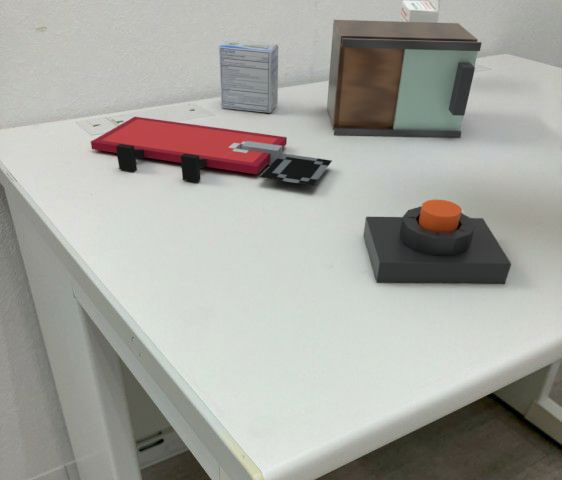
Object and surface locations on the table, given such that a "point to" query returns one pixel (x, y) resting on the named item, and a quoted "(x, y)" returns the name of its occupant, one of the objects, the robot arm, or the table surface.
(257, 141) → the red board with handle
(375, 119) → the cabinet
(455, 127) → the sliding door
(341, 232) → the table surface
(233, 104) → the medicine box
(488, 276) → the button block
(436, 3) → the ink cartridge box
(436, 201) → the orange button
